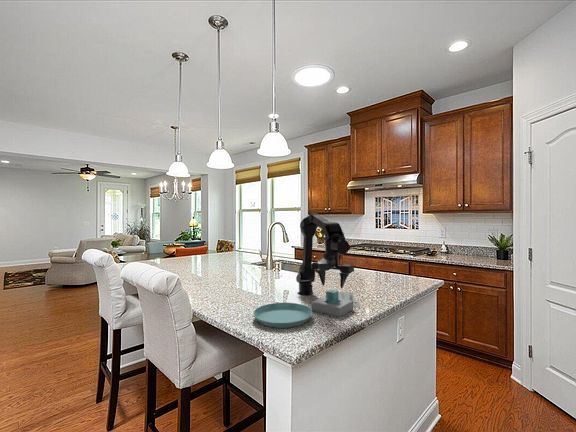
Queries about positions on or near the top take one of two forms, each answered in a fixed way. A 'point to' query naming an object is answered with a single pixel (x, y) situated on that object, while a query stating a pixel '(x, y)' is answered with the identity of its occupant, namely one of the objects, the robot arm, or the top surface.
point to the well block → (332, 307)
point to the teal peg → (332, 296)
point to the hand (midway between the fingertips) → (332, 286)
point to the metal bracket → (348, 297)
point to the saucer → (282, 315)
